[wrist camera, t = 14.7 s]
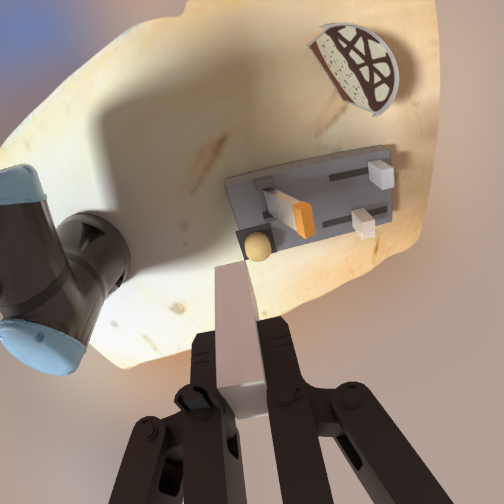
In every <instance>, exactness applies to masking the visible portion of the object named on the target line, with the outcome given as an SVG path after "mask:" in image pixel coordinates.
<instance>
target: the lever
mask: <svg viewBox="0 0 504 504" xmlns="http://www.w3.org/2000/svg"><path fill="white" fill-rule="evenodd" d="M262 192H263V196H264V200H265V204H266V208H267V212H268V213H269V214H271V215H272V216H274V217H275V218H277V219H278V220H280V221H281V222H283V223H284V224H286V225H287V226H289V227H291V228H292V229H294V230H295V231H297V233H298V234H299V235H300V236H302V237H303V238H305V239H307V238H309V237H311V236H313V235H315V234H316V232H315V225H314V219H313V212H312V206H311V205H310V204H308V203H306V202H304V201H299V200H297V199H295V198H293V197H291V196H289V195H287V194H285V193H283V192H281V191H279V190H276V189H274V188H272V187H270V188H269V187H268V188H264V189H262Z"/></svg>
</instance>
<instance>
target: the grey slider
mask: <svg viewBox="0 0 504 504" xmlns="http://www.w3.org/2000/svg"><path fill="white" fill-rule="evenodd" d="M368 170H369V180H370V181H371V182H373V183H374V184H375V185H376V186H378V187H379V188H380V189H381V190H384V189H389V188H393V187H394V168H393V167H391V166H390V165H388V164H386V163H385V162H383V161H381V160H374V161H369V162H368Z"/></svg>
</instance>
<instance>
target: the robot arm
mask: <svg viewBox="0 0 504 504" xmlns="http://www.w3.org/2000/svg"><path fill="white" fill-rule="evenodd" d="M46 199H47V196H46V195H45V194H44V191H43V189H42V186H41V183H40V180H39V177H38V174H37V171H36V170H35V168H34V167H32V166H31V165H29V164H20V165H15V166H12V167H8V168H5V169H2V170H0V312H1V313H2V315H3V319H2V320H1V321H0V340H1V342H2V343H3V345H4V346H5V348H6V349H7V350H8V351H9V352H10V353H11V354H12V355H13V356H15V357H16V358H18V359H19V360H20V361H21V362H23V363H25V364H26V365H28V366H30V367H32V368H34V369H36V370H38V371H41V372H44V373H47V374H52V375H57V376H63V375H69V374H71V373H73V372H75V371H76V369H77V368H78V367H79V364H80V362H81V359H82V357H83V355H84V354H85V353H86V349H87V345H88V343H89V340H90V337H91V334H92V331H93V329H94V326H95V323H96V321H97V318H98V315H99V313H100V310H101V307H102V305H103V303H104V301H105V300H106V299H107V298H108V297H109V296H110V295H111V294H112V293H114V292H115V291H116V290H117V289H118V288H119V287H120V286H121V285H122V283H123V282H124V280H125V278H126V275H127V273H128V270H129V266H130V255H129V250H128V247H127V245H126V242H125V241H124V239H123V237H122V236H121V234H120V233H119V232H118V231H117V230H116V229H115V228H114V227H113V226H112V225H111V224H110V223H108V222H107V221H105V220H103V219H102V218H99V217H97V216H94V215H90V214H76V215H72V216H70V217H68V218H66V219H65V220H64V221H63V222H62V223H61V224H60V225H59V226H58V227H57V228H55V226H54V223H53V220H52V217H51V213H50V210H49V207H48V204H47V200H46ZM191 355H192V356H191V377H190V384H188V385H185V386H184V387H183V388H181V389H180V390H179V391H178V392H177V394H176V395H175V399H174V403H175V404H176V405H177V406H178V407H179V408H180V409H181V411H180V412H178V413H176V414H174V415H171V416H168V417H166V418H163V419H161V420H160V419H159V418H157V417H155V416H146V417H144V418H141V419H140V420H139V421H138V422H137V423H136V424H135V426H134V428H133V430H132V434H131V436H130V439H129V442H128V445H127V448H126V451H125V454H124V457H123V459H122V462H121V466H120V469H119V472H118V475H117V478H116V481H115V484H114V487H113V490H112V494H111V497H110V500H109V504H182V501H183V497H184V504H247V498H246V490H245V482H244V474H243V464H242V455H241V446H240V436H239V431H238V429H237V427H236V424H235V417H236V418H237V420H241V419H248V418H254V417H259V416H265V415H269V420H270V427H271V433H272V439H273V446H274V452H275V458H276V464H277V470H278V476H279V483H280V489H281V495H282V501H283V504H334V502H333V498H332V494H331V489H330V485H329V482H328V477H327V472H326V468H325V464H324V461H323V456H322V452H321V447H320V443H319V440H318V436H322V437H333V438H334V440H335V441H336V443H337V445H338V446H339V448H340V450H341V451H342V453H343V455H344V456H345V458H346V459H347V461H348V463H349V464H350V466H351V467H352V469H353V470H354V472H355V474H356V475H357V477H358V479H359V480H360V482H361V483H362V485H363V486H364V488H365V490H366V491H367V493H368V494H369V496H370V498H371V499H372V501H373V502H374V504H453V502H452V501H451V499H450V498H449V497H448V495H447V494H446V492H445V491H444V490H443V488H442V487H441V485H440V484H439V483H438V482H437V480H436V479H435V477H434V476H433V475H432V473H431V472H430V470H429V469H428V468H427V466H426V465H425V464H424V462H423V461H422V460H421V458H420V457H419V455H418V454H417V453H416V451H415V450H414V449H413V447H412V446H411V444H410V443H409V442H408V440H407V439H406V438H405V436H404V435H403V434H402V432H401V431H400V430H399V428H398V427H397V426H396V424H395V423H394V422H393V420H392V419H391V418H390V416H389V415H388V414H387V412H386V411H385V410H384V408H383V407H382V406H381V404H380V403H379V402H378V400H377V399H376V398H375V396H374V395H373V394H372V392H371V391H370V390H369V389H368V388H367V387H366V386H365V385H364V384H362V383H359V382H346V383H344V384H341V385H340V386H339V387H337V388H336V389H322V388H315V387H313V386H311V385H309V384H308V383H306V382H305V380H304V379H303V378H302V375H301V372H300V369H299V364H298V361H297V357H296V353H295V350H294V345H293V342H292V338H291V334H290V331H289V327H288V324H287V323H286V322H285V320H284V319H283V318H282V317H281V316H278V317H274V318H269V319H265V320H260V319H259V314H258V308H257V302H256V298H255V294H254V291H253V287H252V283H251V279H250V276H249V272H248V268H247V264H246V260H244V261H240V262H235V263H231V264H226V265H222V266H218V267H215V330H214V331H209V332H204V333H198V334H197V335H196V337H195V339H194V341H193V343H192V351H191Z"/></svg>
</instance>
